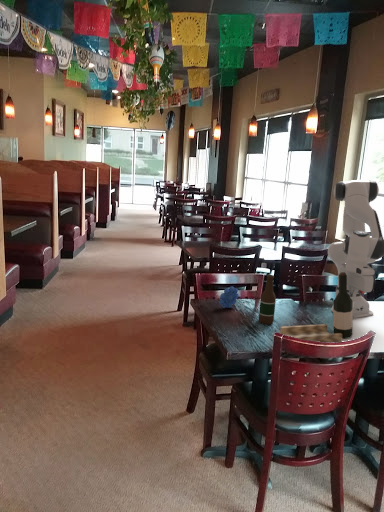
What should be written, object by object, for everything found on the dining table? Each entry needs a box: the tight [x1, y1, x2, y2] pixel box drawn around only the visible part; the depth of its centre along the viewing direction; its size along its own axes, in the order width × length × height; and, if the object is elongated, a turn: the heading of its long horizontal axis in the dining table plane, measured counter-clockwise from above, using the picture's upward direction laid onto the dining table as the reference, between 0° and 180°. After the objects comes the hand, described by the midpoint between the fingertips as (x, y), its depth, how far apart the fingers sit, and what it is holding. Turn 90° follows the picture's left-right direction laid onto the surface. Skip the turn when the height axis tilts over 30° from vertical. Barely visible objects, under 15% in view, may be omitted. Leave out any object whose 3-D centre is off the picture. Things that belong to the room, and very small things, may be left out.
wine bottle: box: [332, 272, 353, 339], centre depth 194 cm, size 8×8×30 cm
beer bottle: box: [257, 274, 277, 325], centre depth 208 cm, size 8×8×24 cm
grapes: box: [219, 285, 239, 309], centre depth 228 cm, size 12×7×12 cm, turn 116°
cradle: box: [279, 323, 343, 343], centre depth 192 cm, size 24×13×4 cm, turn 107°
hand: (352, 296), depth 195 cm, fingers closed
